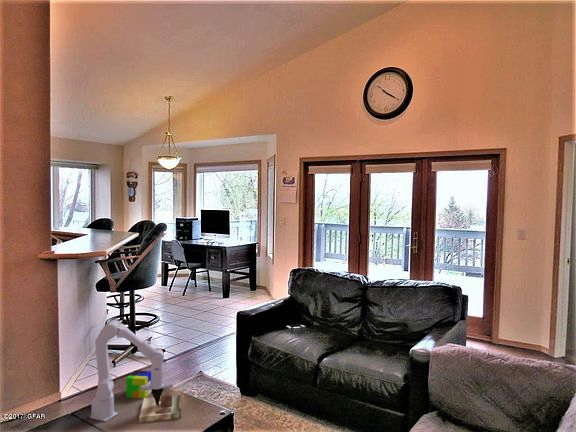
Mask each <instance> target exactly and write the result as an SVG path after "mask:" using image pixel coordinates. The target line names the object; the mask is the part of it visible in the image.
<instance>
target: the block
mask: <svg viewBox="0 0 576 432" xmlns="http://www.w3.org/2000/svg"><path fill="white" fill-rule="evenodd" d="M172 395H173V391H165V392H164V391H163V392H162V394H161V408H162V407H172Z"/></svg>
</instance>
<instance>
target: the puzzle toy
mask: <svg viewBox="0 0 576 432" xmlns="http://www.w3.org/2000/svg"><path fill="white" fill-rule="evenodd" d="M125 380H126V383H125V385H126V390H125V391H126V392H125V395H126V398H131V399H132V398H133V399H139V398H140V399H144V398H148V396H149V394H152V393H151V392H152V390H144V391H141V387H142V386H143V385H148V384H151V370H134V371H133V372H132V373H130V374H129V375H128V376H127V377H126V378H125Z"/></svg>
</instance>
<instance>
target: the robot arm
mask: <svg viewBox="0 0 576 432" xmlns="http://www.w3.org/2000/svg"><path fill="white" fill-rule="evenodd" d="M115 337H116V339H118V338H120V339H121V338H124V339H125V340H126V341H128V342H130V343H131V344H133V345H134V346H136V347H137V351H138V352H139V353H141V354H142V355H143V356H145V357H146V358H148V359H149V361H150V363H151V366H150V371H151V384H148V385H143V386H142V387H141V391H144V390H152V392H151V393H150V394H151V395H152V397H154V399H155V402H156V405H159V400H160V397H161V394H162V393H163V392H164V389H174V382H164V381H165V378H164V377H165V376H164V373H165V371H164V370H165V368H164V367H165V366H164V358H165V357H164V356H165V352H164V351H163V349H161V348H159V347H156V346H155V345H154V344H152V342H151V341H150V340H144V339H143V340H142V339H141V338H140V337H139V336H137V335H136V334H135V333H134V332H133V331H132V330H130V329H129V327H127V326H126V325H125V324H124V323H122V322H120V321H119V320H118V319H111V320H110V321H108V322H107V323H106V324H105V325H104V326H103V328H102V329H101V330H100V332H99V333H98V335H97V337H96V338H95V340H94V341H95V342H94V344H95V345H94V346H95V355H96V364H97V366H96V367H97V376H98V381H97V390H96V393H95V395H96V396H95V397H94V398H93V399H92V401H91V415H90V416H89V418H90V419H94V420H97V421H102V422H107V421H109V420H110V419H112V418H114V417H115V416H117V415H118V414H119V412H117V411H115V395H114V392H113V390H114V389H115V383H114V381H113V379H112V375H111V370H110V359H109V348H108V342H109V341H110V340H112V339H114V338H115Z"/></svg>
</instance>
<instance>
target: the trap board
mask: <svg viewBox="0 0 576 432" xmlns="http://www.w3.org/2000/svg"><path fill="white" fill-rule="evenodd" d="M182 411H183V390H180V391H179V394H174V395H173V394H172V407H162V408H161V397H160V400H159V405H156V402H155V399H154V397H153V396H152V397H146V398H143V401H142V405H141V408H140V413H139V416H138V423H147V422H149V423H150V422H156V421H158V422H159V421H165V420H173V419H182V414H183V413H182Z"/></svg>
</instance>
